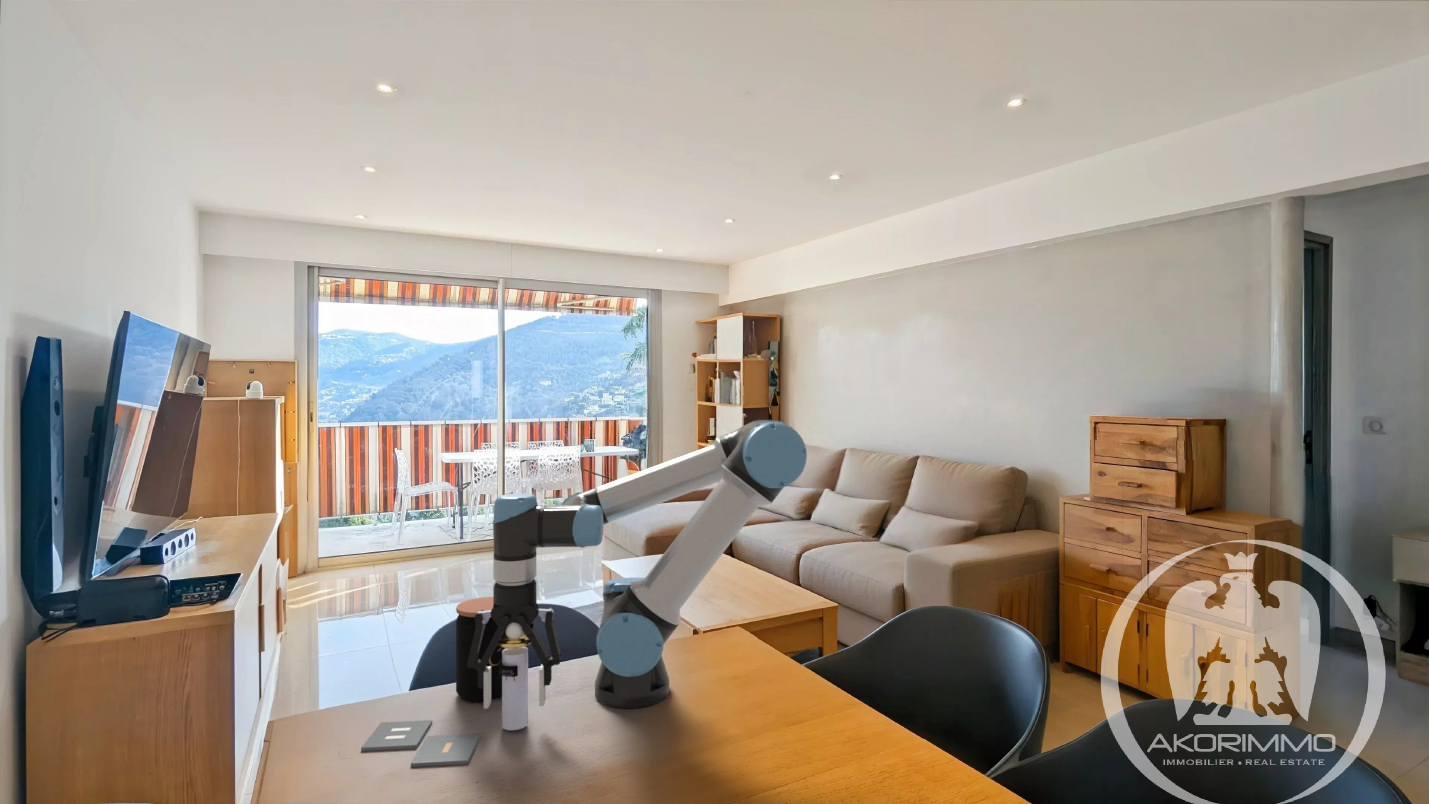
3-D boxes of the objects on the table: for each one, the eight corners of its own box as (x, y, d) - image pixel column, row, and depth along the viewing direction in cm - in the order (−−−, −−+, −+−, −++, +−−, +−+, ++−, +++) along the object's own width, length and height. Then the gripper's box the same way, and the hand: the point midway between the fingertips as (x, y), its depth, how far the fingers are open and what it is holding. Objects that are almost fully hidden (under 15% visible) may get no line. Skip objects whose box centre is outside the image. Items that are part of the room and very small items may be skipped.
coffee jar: (494, 706, 132) (494, 614, 132) (445, 701, 135) (445, 610, 134) (520, 684, 143) (520, 598, 143) (474, 679, 145) (474, 595, 145)
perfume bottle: (512, 718, 128) (512, 612, 127) (538, 724, 125) (538, 615, 125) (491, 732, 122) (491, 621, 122) (517, 738, 120) (517, 625, 120)
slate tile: (480, 736, 121) (480, 733, 121) (467, 763, 112) (467, 760, 112) (427, 739, 120) (427, 735, 120) (410, 767, 111) (410, 763, 111)
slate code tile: (432, 723, 126) (432, 719, 126) (416, 748, 117) (416, 744, 117) (381, 725, 125) (381, 722, 125) (361, 751, 116) (361, 747, 116)
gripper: (577, 573, 128) (577, 692, 129) (458, 576, 126) (458, 697, 126) (574, 584, 121) (573, 710, 121) (447, 587, 119) (447, 716, 119)
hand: (515, 703), depth 124 cm, fingers open, 9 cm apart
